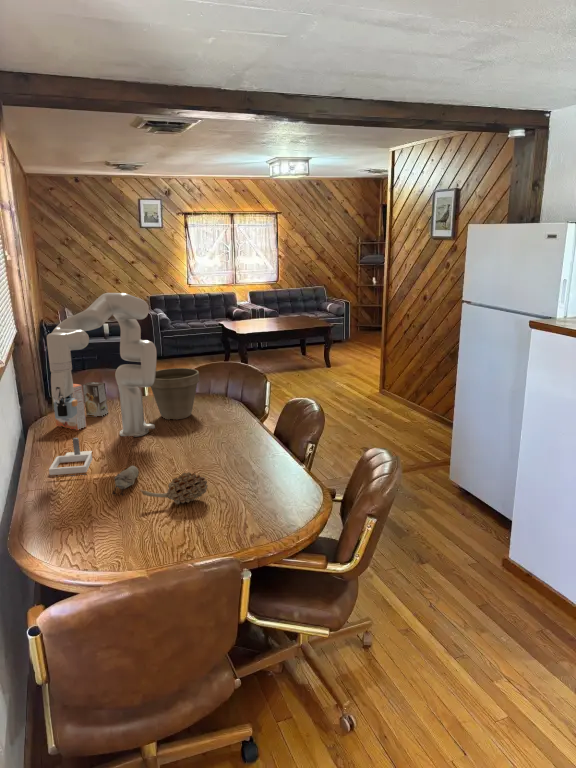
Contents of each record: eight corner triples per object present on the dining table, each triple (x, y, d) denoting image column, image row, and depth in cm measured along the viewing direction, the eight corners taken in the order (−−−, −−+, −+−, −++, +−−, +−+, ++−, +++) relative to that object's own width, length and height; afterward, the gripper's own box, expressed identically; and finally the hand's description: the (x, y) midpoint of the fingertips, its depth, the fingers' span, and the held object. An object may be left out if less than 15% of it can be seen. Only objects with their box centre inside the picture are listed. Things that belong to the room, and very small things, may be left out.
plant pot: (145, 412, 285) (142, 370, 279) (193, 405, 295) (190, 365, 289) (156, 426, 263) (153, 381, 257) (207, 418, 273) (205, 375, 267)
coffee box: (109, 413, 284) (106, 382, 280) (101, 417, 278) (98, 385, 274) (93, 412, 287) (90, 381, 283) (85, 415, 281) (82, 384, 277)
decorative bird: (143, 478, 206) (141, 459, 204) (125, 498, 190) (123, 478, 188) (129, 478, 206) (127, 459, 204) (110, 497, 191) (108, 477, 189)
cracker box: (55, 427, 264) (50, 384, 259) (66, 423, 269) (60, 381, 264) (77, 431, 258) (71, 387, 253) (87, 427, 263) (82, 384, 258)
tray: (92, 462, 221) (91, 453, 221) (86, 475, 209) (85, 466, 208) (57, 464, 219) (56, 456, 219) (49, 478, 207) (48, 469, 206)
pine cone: (206, 492, 193) (204, 465, 191) (210, 504, 184) (209, 476, 182) (139, 502, 187) (137, 474, 184) (141, 515, 178) (139, 486, 175)
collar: (61, 413, 214) (59, 398, 212) (80, 413, 214) (78, 398, 212) (55, 418, 208) (53, 402, 207) (75, 418, 208) (73, 402, 207)
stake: (92, 453, 230) (90, 434, 228) (88, 461, 222) (86, 441, 220) (67, 455, 229) (64, 435, 227) (62, 463, 220) (59, 443, 218)
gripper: (59, 361, 215) (64, 407, 219) (41, 371, 198) (47, 420, 202) (79, 361, 215) (83, 406, 219) (62, 371, 198) (68, 420, 202)
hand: (66, 412), depth 211 cm, fingers closed on collar, 6 cm apart
